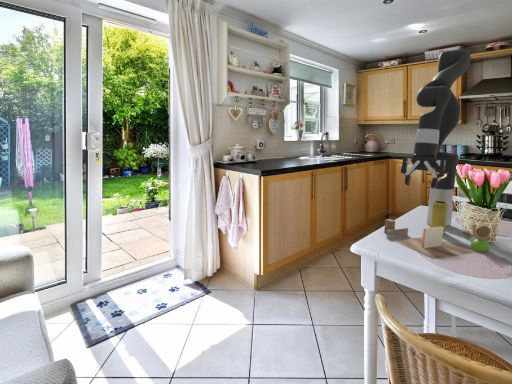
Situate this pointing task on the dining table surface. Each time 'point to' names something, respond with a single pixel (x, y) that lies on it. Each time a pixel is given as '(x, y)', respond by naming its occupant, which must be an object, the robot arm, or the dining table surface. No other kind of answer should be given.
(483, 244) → the snail figurine
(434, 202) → the vase
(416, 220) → the dining table surface
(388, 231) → the wooden stamp block
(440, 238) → the tile
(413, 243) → the board
